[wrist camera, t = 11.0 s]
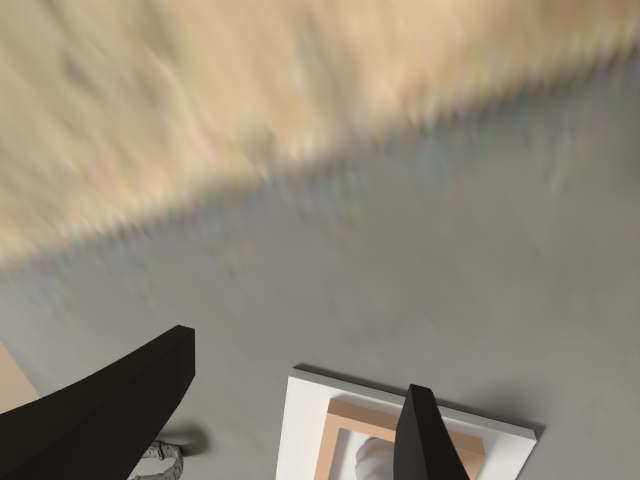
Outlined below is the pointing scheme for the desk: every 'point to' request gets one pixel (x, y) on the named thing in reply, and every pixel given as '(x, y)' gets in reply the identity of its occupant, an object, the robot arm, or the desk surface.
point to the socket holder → (380, 432)
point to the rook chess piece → (375, 460)
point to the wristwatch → (163, 451)
